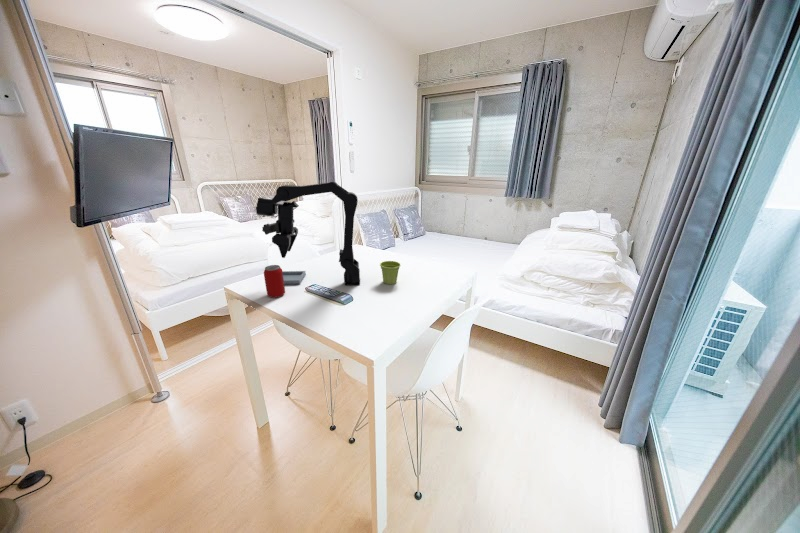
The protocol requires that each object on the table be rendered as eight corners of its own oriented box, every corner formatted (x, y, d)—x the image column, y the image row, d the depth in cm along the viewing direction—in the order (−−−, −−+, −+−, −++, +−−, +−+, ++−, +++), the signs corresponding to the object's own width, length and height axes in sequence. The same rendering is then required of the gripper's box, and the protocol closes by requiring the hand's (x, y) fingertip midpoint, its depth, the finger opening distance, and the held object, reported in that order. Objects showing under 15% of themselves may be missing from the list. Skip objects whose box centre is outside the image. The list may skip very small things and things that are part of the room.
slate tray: (305, 274, 132) (305, 270, 131) (299, 284, 121) (299, 280, 120) (281, 275, 131) (280, 271, 130) (272, 285, 120) (272, 280, 119)
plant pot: (399, 278, 130) (400, 260, 127) (400, 286, 121) (400, 267, 118) (380, 278, 130) (380, 260, 127) (379, 286, 121) (379, 267, 118)
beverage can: (288, 291, 114) (285, 264, 110) (280, 299, 107) (276, 270, 103) (273, 290, 114) (269, 264, 110) (264, 298, 108) (259, 269, 104)
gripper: (271, 212, 117) (272, 246, 122) (256, 219, 100) (258, 259, 105) (298, 214, 119) (298, 248, 124) (288, 222, 102) (288, 261, 107)
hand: (286, 254), depth 115 cm, fingers open, 9 cm apart
